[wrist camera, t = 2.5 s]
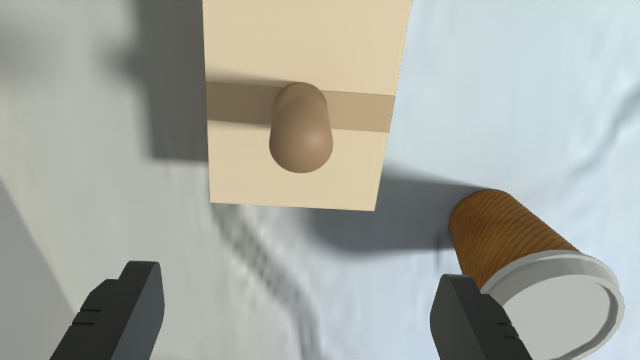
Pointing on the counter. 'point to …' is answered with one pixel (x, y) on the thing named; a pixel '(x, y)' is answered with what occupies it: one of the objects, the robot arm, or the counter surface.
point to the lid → (300, 99)
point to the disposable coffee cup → (536, 277)
